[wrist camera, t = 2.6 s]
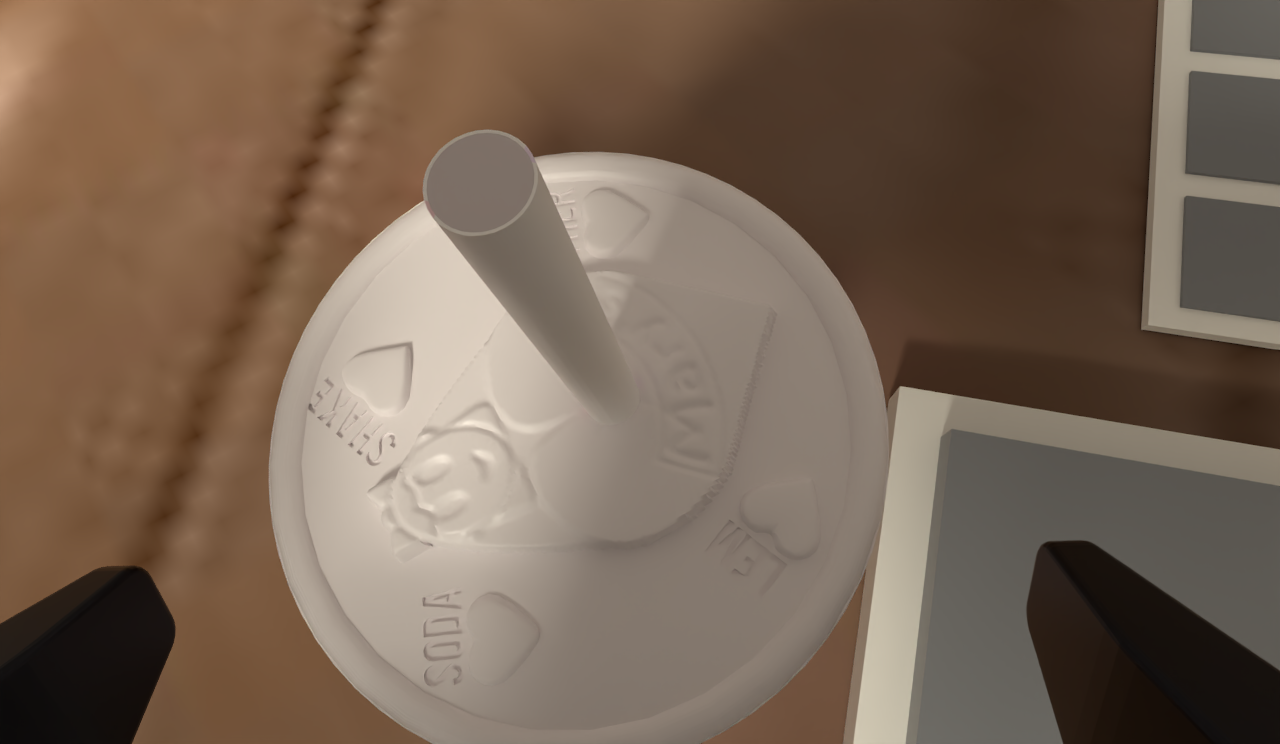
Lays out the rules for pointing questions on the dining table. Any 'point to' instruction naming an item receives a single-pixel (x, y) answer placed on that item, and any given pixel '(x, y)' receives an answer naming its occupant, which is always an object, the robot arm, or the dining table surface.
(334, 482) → the smoothie
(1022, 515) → the button board
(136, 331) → the dining table surface
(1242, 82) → the pattern card
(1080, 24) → the dining table surface
